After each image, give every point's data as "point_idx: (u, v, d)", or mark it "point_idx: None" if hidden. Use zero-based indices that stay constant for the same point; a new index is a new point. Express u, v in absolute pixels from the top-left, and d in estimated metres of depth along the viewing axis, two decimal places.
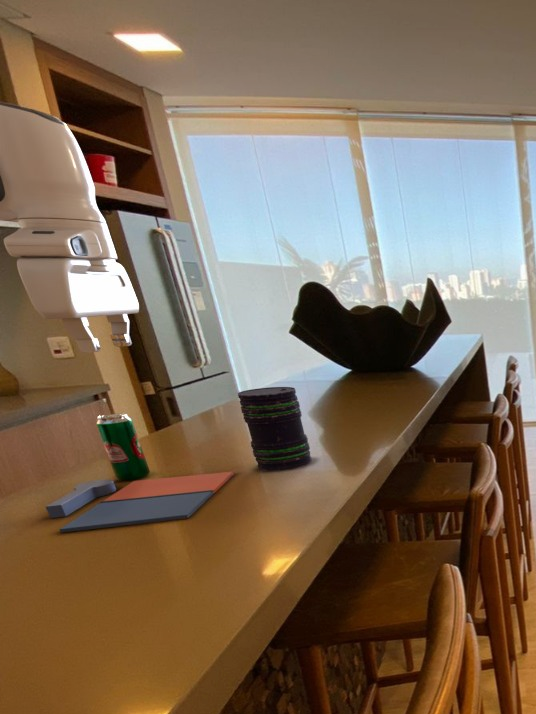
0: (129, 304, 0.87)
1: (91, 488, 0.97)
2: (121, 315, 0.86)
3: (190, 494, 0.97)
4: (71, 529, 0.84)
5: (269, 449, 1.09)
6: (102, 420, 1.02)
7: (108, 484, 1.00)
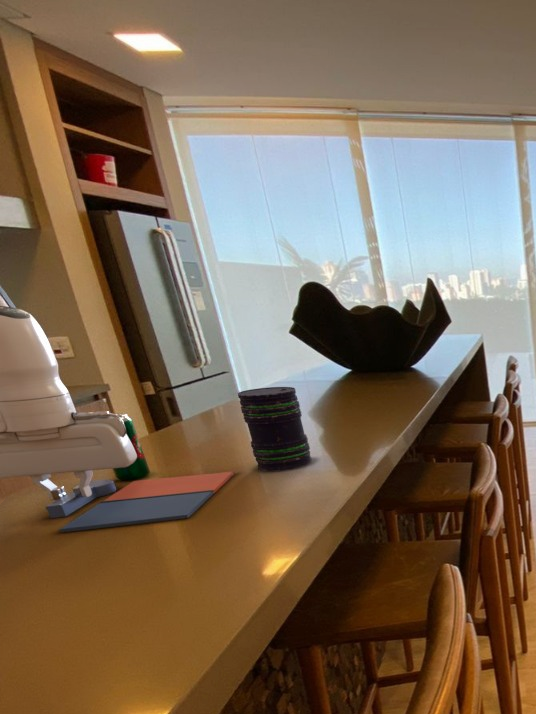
0: (100, 461, 0.92)
1: (91, 488, 0.97)
2: (74, 472, 0.92)
3: (190, 494, 0.97)
4: (71, 529, 0.84)
5: (269, 449, 1.09)
6: None
7: (108, 484, 1.00)
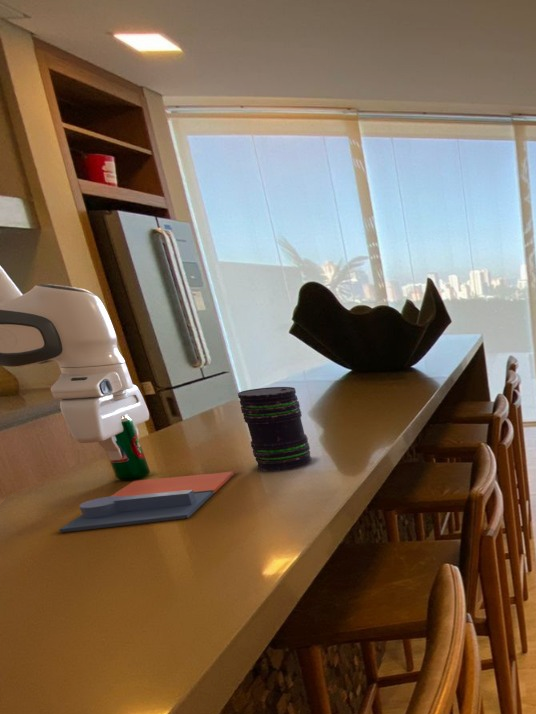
0: (141, 416, 1.11)
1: None
2: None
3: None
4: (71, 529, 0.84)
5: (269, 449, 1.09)
6: None
7: None
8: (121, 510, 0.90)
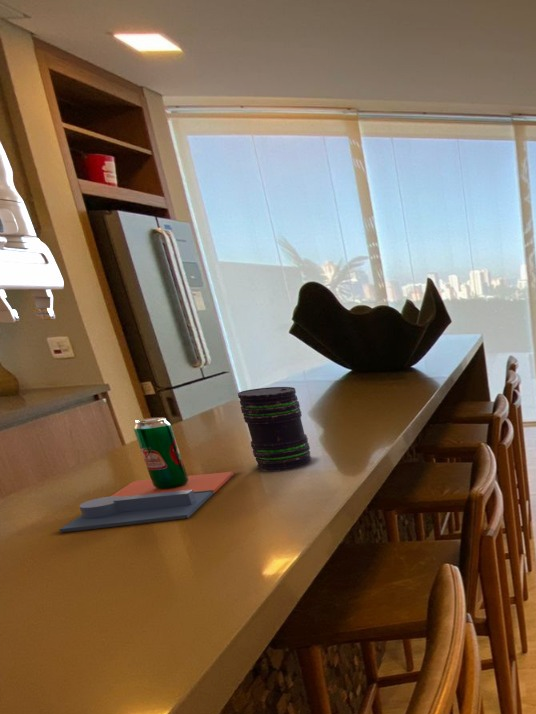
0: (52, 280, 0.93)
1: None
2: (44, 290, 0.92)
3: None
4: (71, 529, 0.84)
5: (269, 449, 1.09)
6: (140, 425, 0.96)
7: None
8: (121, 510, 0.90)
